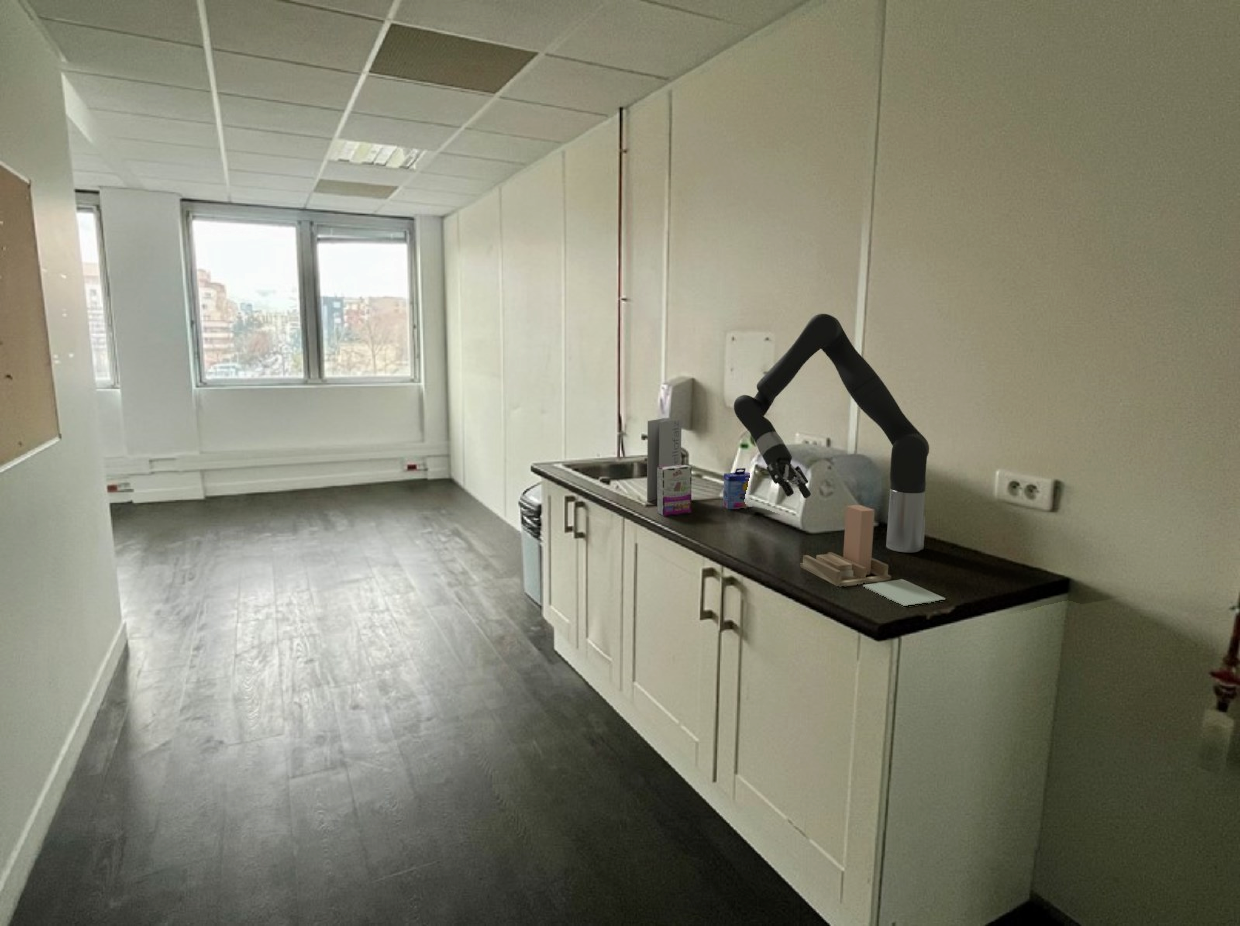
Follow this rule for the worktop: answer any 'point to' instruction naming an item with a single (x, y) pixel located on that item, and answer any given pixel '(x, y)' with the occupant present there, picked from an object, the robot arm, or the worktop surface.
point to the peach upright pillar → (859, 535)
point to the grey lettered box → (662, 450)
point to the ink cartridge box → (735, 489)
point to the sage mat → (903, 592)
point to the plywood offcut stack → (838, 565)
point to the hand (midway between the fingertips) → (799, 495)
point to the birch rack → (835, 575)
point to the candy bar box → (674, 490)
